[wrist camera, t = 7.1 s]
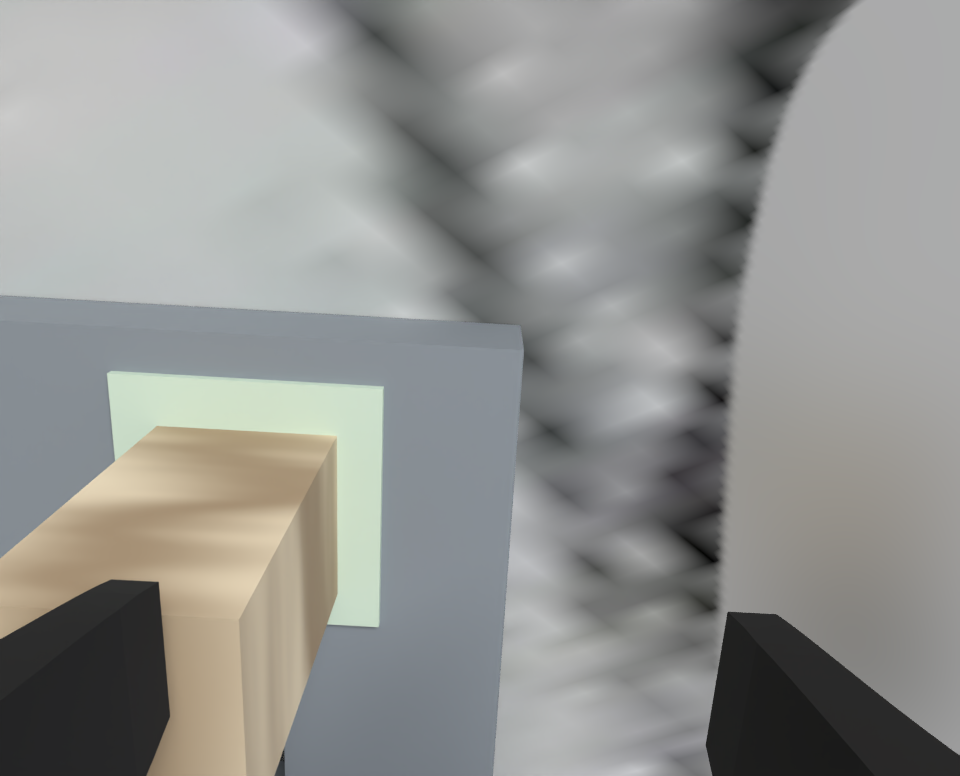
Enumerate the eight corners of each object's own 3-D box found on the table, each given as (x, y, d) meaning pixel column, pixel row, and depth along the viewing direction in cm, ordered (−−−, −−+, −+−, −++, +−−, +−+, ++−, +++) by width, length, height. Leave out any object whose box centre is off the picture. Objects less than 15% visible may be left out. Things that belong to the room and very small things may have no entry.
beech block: (337, 435, 17) (238, 619, 11) (337, 593, 19) (249, 846, 12) (156, 425, 17) (-53, 602, 11) (169, 584, 19) (-13, 832, 12)
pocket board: (520, 325, 19) (524, 352, 17) (484, 836, 24) (482, 916, 22) (-51, 292, 19) (-132, 315, 17) (27, 809, 24) (-27, 885, 22)
